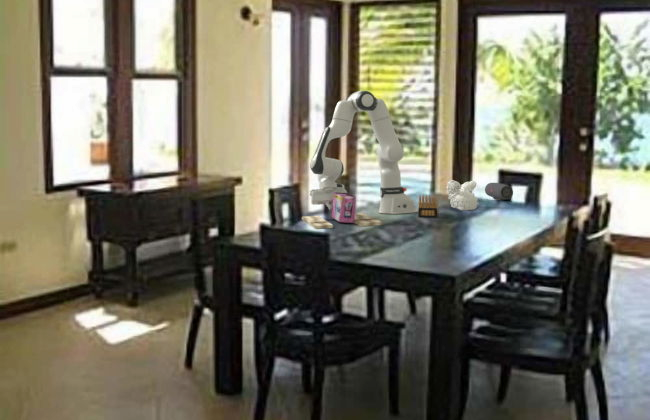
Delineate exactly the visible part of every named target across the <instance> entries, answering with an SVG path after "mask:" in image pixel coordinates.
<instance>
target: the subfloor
mask: <svg viewBox="0 0 650 420" xmlns="http://www.w3.org/2000/svg"><path fill="white" fill-rule="evenodd" d="M301 220H302V221H303V222H305V223H306V224H308V225H309V226H310V227H312V228H313V229H315V230H319V229H320V230H321V229H323V230H324V229H333V228H334V224H332V223H331V222H329V221H328V220H326V219H324V218H323V217H321V216H319V215H310V216H309V215H308V216H306V215H305V216H301ZM353 224H356V225H358V226H359V227H370V226H382V225H383V222H382V221H381V220H378V219H377V218H374V217H373V216H370V215H368V214H366V213H364V212H363V213H362V212H360V213H359V212H358V213H355V217H354V223H353Z"/></svg>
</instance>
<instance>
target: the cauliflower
mask: <svg viewBox="0 0 650 420" xmlns="http://www.w3.org/2000/svg"><path fill="white" fill-rule="evenodd" d="M477 185H478V183H477V182H476V181H475V180H469V181H466V182H464V183H463V184H460V182H459V181H456V180H454V179H450V180H449V181H447V183H446V190H447V195H448V196H447V199H448V200H450V202H449V204H450V205H451V208H454V209H457V210H460V211H472V210H476V209H477V207H478V205H479V202H478V201H479V199H478V198H477V197H476V195H475V193H474V192H473V193H472V191H474V190H475V189H476V187H477Z"/></svg>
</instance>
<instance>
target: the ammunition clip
mask: <svg viewBox="0 0 650 420" xmlns="http://www.w3.org/2000/svg"><path fill="white" fill-rule="evenodd" d="M438 202H439V201H438V196H437V195H435V196H434V195H433V194H432V195H430V194H429V195H427V194H426V195H424V194H422V196H421V194H419V195H418V208H417V209H418V212H417V214H418V216H417V217H418V218H420V219H421V218H424V219H425V218H427V219H429V218H430V219H432V218H433V219H434V218H435V219H437V218H439V203H438Z"/></svg>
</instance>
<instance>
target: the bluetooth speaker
mask: <svg viewBox="0 0 650 420" xmlns="http://www.w3.org/2000/svg"><path fill="white" fill-rule="evenodd" d="M484 193H485V194H486V195H487V196H489V197H491V198H492V199H493V200H496V201H505V200H509V199H511V198H512V197H513V195H514V191H513V188H512V187H511V186H510V185H508V184H504V183H500V182H489V183H487V184H486V186H485V187H484Z"/></svg>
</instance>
